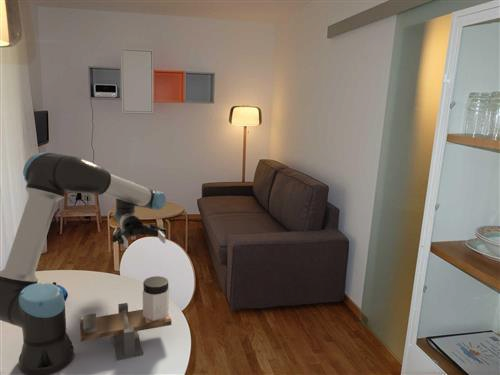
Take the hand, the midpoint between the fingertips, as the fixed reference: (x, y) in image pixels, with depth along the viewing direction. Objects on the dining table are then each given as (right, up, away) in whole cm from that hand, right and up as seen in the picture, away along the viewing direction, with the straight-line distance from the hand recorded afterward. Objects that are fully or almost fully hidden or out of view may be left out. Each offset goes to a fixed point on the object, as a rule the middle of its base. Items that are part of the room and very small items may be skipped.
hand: (146, 242), depth 146 cm
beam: (-4, -25, -12) cm, 28 cm away
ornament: (-36, -26, +8) cm, 45 cm away
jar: (+5, -23, -8) cm, 25 cm away
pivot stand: (-4, -32, -11) cm, 33 cm away
